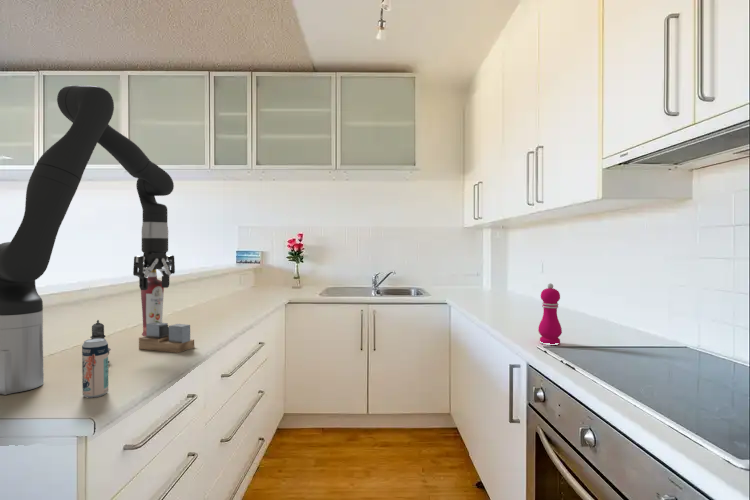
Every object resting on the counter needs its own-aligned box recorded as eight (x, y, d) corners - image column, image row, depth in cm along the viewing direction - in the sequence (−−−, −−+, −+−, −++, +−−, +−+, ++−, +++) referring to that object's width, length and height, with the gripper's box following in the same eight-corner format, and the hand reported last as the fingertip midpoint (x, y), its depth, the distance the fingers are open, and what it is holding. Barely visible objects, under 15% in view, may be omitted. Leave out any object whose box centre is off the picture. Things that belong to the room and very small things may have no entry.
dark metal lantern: (98, 367, 118) (98, 322, 118) (80, 365, 120) (79, 321, 119) (115, 361, 124) (115, 318, 124) (97, 360, 125) (97, 317, 125)
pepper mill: (533, 342, 150) (534, 282, 149) (551, 340, 152) (552, 282, 151) (548, 347, 143) (548, 284, 142) (566, 345, 145) (567, 284, 145)
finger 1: (160, 341, 138) (160, 325, 138) (146, 339, 140) (146, 324, 140) (169, 338, 141) (168, 323, 141) (155, 337, 143) (155, 322, 143)
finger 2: (182, 343, 135) (182, 326, 135) (167, 341, 137) (167, 325, 137) (190, 340, 139) (190, 324, 139) (176, 339, 140) (175, 323, 140)
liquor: (148, 340, 150) (148, 257, 150) (136, 338, 154) (135, 257, 153) (168, 336, 156) (168, 256, 156) (156, 334, 160) (155, 256, 160)
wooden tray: (177, 352, 134) (177, 341, 134) (138, 348, 139) (138, 337, 138) (194, 347, 140) (194, 336, 140) (156, 343, 145) (156, 333, 145)
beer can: (80, 394, 97) (79, 340, 97) (105, 389, 100) (104, 336, 100) (85, 400, 94) (84, 343, 93) (111, 395, 97) (110, 340, 97)
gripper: (146, 236, 132) (146, 291, 132) (181, 237, 145) (181, 287, 145) (126, 236, 134) (126, 290, 134) (162, 237, 147) (162, 286, 148)
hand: (154, 288), depth 140 cm, fingers open, 8 cm apart
